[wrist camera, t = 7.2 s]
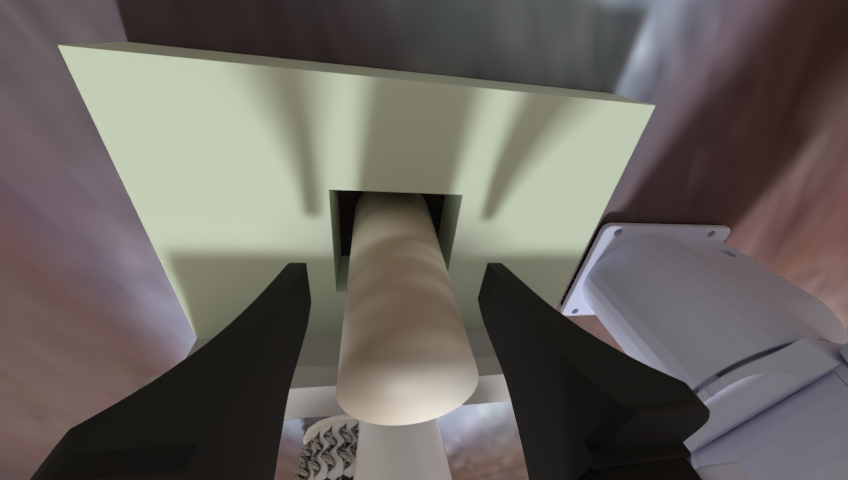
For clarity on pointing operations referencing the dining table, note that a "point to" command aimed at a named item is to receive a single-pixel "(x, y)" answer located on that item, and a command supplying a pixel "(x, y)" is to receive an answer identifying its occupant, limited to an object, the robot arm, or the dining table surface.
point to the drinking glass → (401, 452)
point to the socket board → (347, 179)
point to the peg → (400, 319)
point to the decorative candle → (329, 449)
